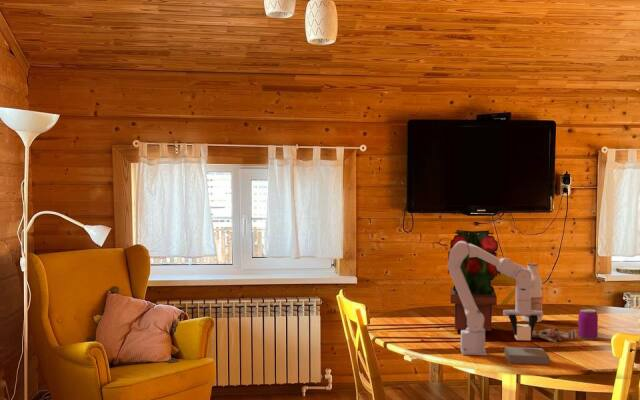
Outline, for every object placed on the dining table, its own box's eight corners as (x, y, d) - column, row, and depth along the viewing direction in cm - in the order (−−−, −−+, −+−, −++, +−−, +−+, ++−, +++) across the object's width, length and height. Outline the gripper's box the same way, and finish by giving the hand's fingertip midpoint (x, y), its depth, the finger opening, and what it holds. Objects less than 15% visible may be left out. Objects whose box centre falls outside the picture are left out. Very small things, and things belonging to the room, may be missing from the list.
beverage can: (586, 340, 271) (586, 312, 271) (574, 336, 279) (574, 308, 279) (601, 339, 274) (601, 311, 273) (589, 335, 281) (589, 308, 281)
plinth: (509, 363, 237) (509, 355, 237) (504, 354, 249) (504, 346, 248) (549, 364, 235) (549, 356, 235) (542, 355, 247) (542, 348, 247)
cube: (517, 340, 244) (517, 326, 244) (514, 336, 249) (514, 324, 249) (530, 340, 243) (530, 327, 243) (527, 337, 248) (528, 324, 248)
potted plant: (499, 337, 276) (500, 233, 275) (447, 335, 281) (448, 232, 280) (496, 326, 298) (497, 229, 297) (447, 324, 302) (448, 229, 301)
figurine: (570, 330, 262) (525, 327, 276) (571, 344, 261) (526, 341, 276) (576, 328, 266) (532, 325, 280) (578, 342, 266) (533, 339, 280)
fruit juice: (518, 320, 311) (518, 263, 311) (527, 317, 318) (528, 261, 317) (536, 323, 304) (536, 264, 304) (545, 320, 311) (546, 263, 310)
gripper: (540, 297, 248) (539, 332, 249) (501, 297, 250) (501, 331, 250) (544, 301, 241) (544, 337, 242) (505, 300, 243) (504, 335, 243)
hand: (522, 334), depth 246 cm, fingers closed on cube, 5 cm apart
